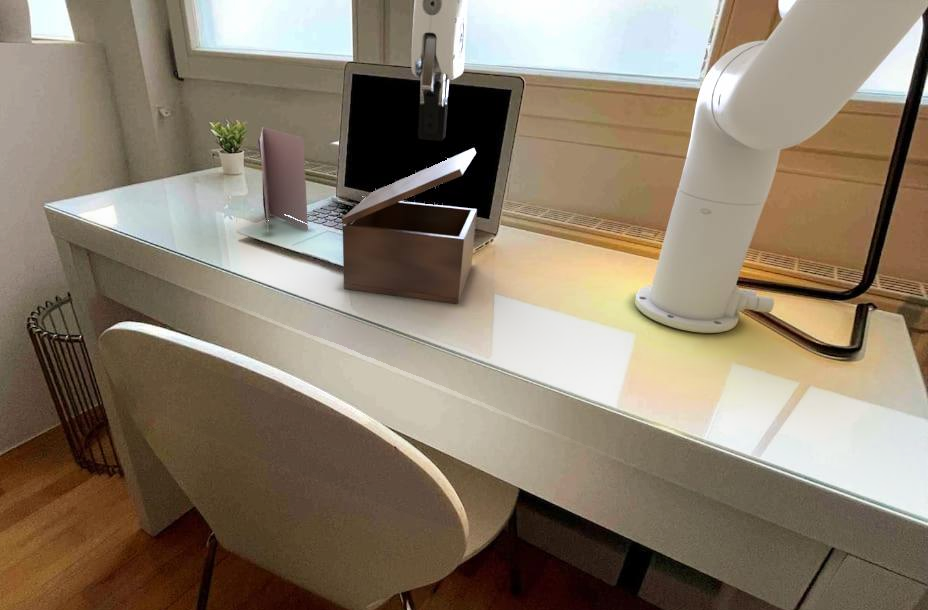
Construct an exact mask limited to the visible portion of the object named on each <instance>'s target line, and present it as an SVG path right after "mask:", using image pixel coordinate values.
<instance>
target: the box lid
mask: <svg viewBox="0 0 928 610" xmlns="http://www.w3.org/2000/svg"><path fill="white" fill-rule="evenodd" d="M476 154H477V151H476V149H475V147H472V148H470V149H468V150H465V151H463V152H461V153H459V154H456V155H454V156H452V157H449V158H447V160H445V161H442V162H440V163H438V164H435V165H433V166H431V167H429V168H427V167H426V168H424V169H422V170H419V171H417V172H415V174H412V175H410V176H408V177H405V176H404V178H401V179H399V180H395V182H394V183H392V184H389V185H387V186H385V185H384V186H383V187H380V188H378V189H375V191H373V192H371V193H370V194H369V195H368V196H367V197H366V196H364V197H365V198H364V199H363V200H362V201H361V202H360V203H359V204H358V205H356V206H353V208H352V209H351V210H350V211H349V212H347V213H346V214H345V215H344V216H343V217H342V218H341V219H340V220H341V222H342V225H345V224H347V223H349V222H352V221H354V220H357V219H359V218H361V217H364V216H366V215H369V214H371V213H373V212H376V211H378V210H381V209H383V208H385V207H388V206H390V205H392V204H395V203H397V202H400V201H404V199H407V198H409V197H412V196H414V197H415V196H417V195H418V194H421V193H424V192H425V191H426V190H428V189H431V188H433V187H435V188H436V187H437V186H438V187H439V185H440V184H443V183H444V184H445V183H447V182H450V181H452V180H455V179H458V178H460V177H462V176H463V175H464V173H465V171H466V170H467V168H468V167H469V165H470V164H471V162H472V160H473V159H474V157H475V156H476Z"/></svg>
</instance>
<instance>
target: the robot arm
mask: <svg viewBox="0 0 928 610" xmlns="http://www.w3.org/2000/svg"><path fill="white" fill-rule="evenodd" d="M777 3H778V4H777V5H778V13H779V16H780V18H781V20H780V22H779V23H778V24H777V26H776V27H775V29H774V30H773V31H772V33H771V34H770V35H769V37H768V38H766V40H754V41H750V42H745V43H742V44H739V45H738V46H736V47H734V48H731V50H729V51H727V52H726V53H725V54H723V55H722V56H721V57H720V58H719V59H718V60H717V61H716V62H715V63H714V64H713V65H712V66H711V67H710V69H709V71H708V72H707V74H706V76H705V78H704V80H703V82H702V84H701V86H700V89H699V93H698V96H697V101H696V103H695V110H694V115H693V121H692V127H691V134H690V140H689V144H688V149H687V153H686V157H685V161H684V165H683V169H682V172H681V177H680V181H679V184H678V187H677V190H676V194H675V197H674V201H673V205H672V209H671V211H670V212H671V213H670V216H669V220H668V222H667V223H668V224H667V227H666V229H665V230H666V231H665V234H664V238H663V242H662V245H661V249H660V253H659V257H658V260H657V264H656V267H655V271H654V275H653V278H652V282H651V285H648V286H644V287H642V288H640V289H639V290H638V291H637V292H636V294H635V299H634V305H635V306H636V308H637V309H638V310H639V312H640V313H642V314H643V315H645V316H646V317H647V318H649V319H651V320H653V321H655V322H657V323H659V324H662V325H665V326H668V327H669V328H674V329H678V330H682V331H686V332H692V333H699V334H700V333H701V334H717V333H724V332H728V331H730V330H732V329H734V328H735V327H736V326H737V325H738V321H739V319H740V313H739V312H743V311H744V310H751V311H753V312H759V313H767V314H768V313H771V312H772V311H773V309H774V304H775V300H774V298H773V297H770V296H769V297H768V296H761V295H757V291H756V290H753V289H740V288H739V286H738V285H737V282H738V281H739V277H740V274H741V272H742V270H743V266H744V263H745V260H746V257H747V255H748V252H749V249H750V246H751V243H752V240H753V238H754V235H755V232H756V229H757V226H758V225H759V224H758V223H759V220H760V217H761V215H762V212H763V209H764V207H765V203H766V201H767V199H768V196H769V194H770V191H771V188H772V185H773V181H774V178H775V175H776V172H777V167H778V163H779V159H780V153H781V151H783V150H786V149H789V148H792V147H794V146H797V145H800V144H801V143H803V142H805V141H807V140H808V139H810V138H812V137H813V136H814V135H815V134H817V133H819V132H820V131H821V130H822V129H823V128H824V127H825V126H826V125H827V124H829V122H830V121H831V120H832V119H834V118H835V116H836V115H837V114H838V113H839V112H840V111H841V110H842V109H843V108H844V107H845V105H846V104H847V103H848V102H849V101H850V100H851V98H852V97H853V96H854V95H855V94H856V93H857V92H858V90H859V89H860V88H861V87H862V86H863V85H864V84H865V82H866V81H867V80H868V79H869V78H870V77H871V76H872V74H873V73H874V72H875V71H876V70H877V69H878V68H879V67H880V65H881V64H882V63H883V61H885V59H887V57H888V56H889V55H890V54H891V52H893V50H894V49H895V48H896V47H897V46H898V44H899V43H900V42H901V41H902V40H903V39H904V38H905V36H907V34H908V33H909V32H910V31H911V29H912V28H913V27H914V26H915V24H916V23H917V22H918V21H919V20H920V18H921V17H922V16H923V14H924V13H925V12H926V10H927V9H928V0H778V2H777ZM467 12H468V0H414V4H413V17H412V33H411V51H410V52H411V57H410V58H411V59H410V61H411V62H410V63H411V64H410V65H411V67H410V68H411V73H412V74H413V76H414V77H416V78H420V86H419V87H420V88H419V89H420V90H419V91H420V92H419V93H420V94H419V106H418V107H419V108H418V109H419V110H418V124H417V125H418V126H417V132H418V133H417V137H418V139H419V140H424V141H436V142H437V141H438V142H441V141H443V140H444V139H445V138H446V131H447V121H448V120H447V118H448V107H449V106H448V97H449V86H450V81H453V80H455V79H457V78H459V77H460V76H461V75H462V74H463V73H464V69H465V53H466V52H465V48H466V33H467V16H468V15H467Z"/></svg>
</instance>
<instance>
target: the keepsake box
mask: <svg viewBox="0 0 928 610" xmlns="http://www.w3.org/2000/svg"><path fill="white" fill-rule="evenodd" d="M477 213H478V209H477V208H470V207H469V208H468V207H459V206H452V205H443V204H442V205H438V204H434V205H433V204H425V203H421V202H415V201H414V202H404V200H402V201H400V202H397V203H395V204H392V205H390V206H388V207H385V208H383V209H381V210H378V211H376V212H373V213H371V214H369V215H366V216H364V217H361V218H359V219H357V220H354V221H352V222H349V223H347V224H345V225H344V224H342V259H343V260H342V261H343V262H342V266H343V268H342V269H343V289H345V290H352V291H358V292H366V293H374V294H381V295H388V296H396V297H404V298H411V299H418V300H425V301H426V300H427V301H434V302H439V303H448V304H455V305H458V304H459V303H460V300H461V297H462V294H463V291H464V289H465V287H466V286H465V285H466V282H467V281H468V277H469V274H470V272H471V269H472V266H473V265H472V263H473V253H474V246H475V245H474V244H475V234H476V225H477V215H478V214H477Z"/></svg>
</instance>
